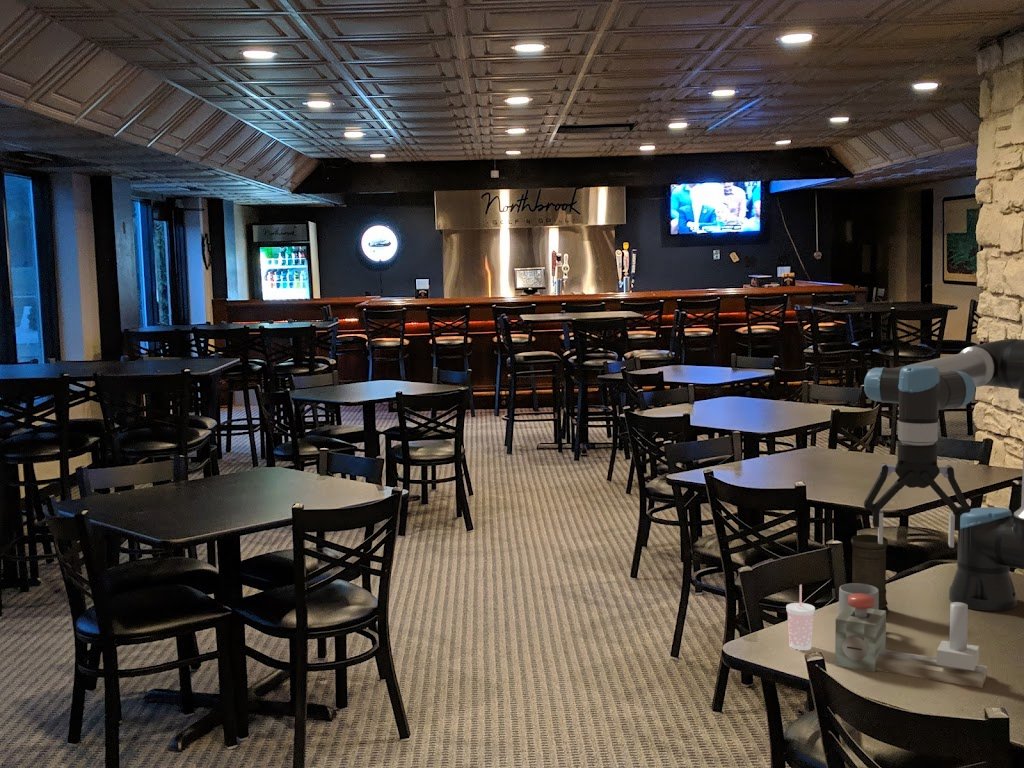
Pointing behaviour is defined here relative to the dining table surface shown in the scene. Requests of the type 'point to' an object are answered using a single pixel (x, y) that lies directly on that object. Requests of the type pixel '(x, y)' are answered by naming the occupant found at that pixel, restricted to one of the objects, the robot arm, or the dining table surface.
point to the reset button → (861, 603)
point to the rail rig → (890, 652)
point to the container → (870, 564)
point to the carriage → (958, 641)
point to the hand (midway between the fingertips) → (915, 544)
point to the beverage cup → (800, 624)
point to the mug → (857, 588)
